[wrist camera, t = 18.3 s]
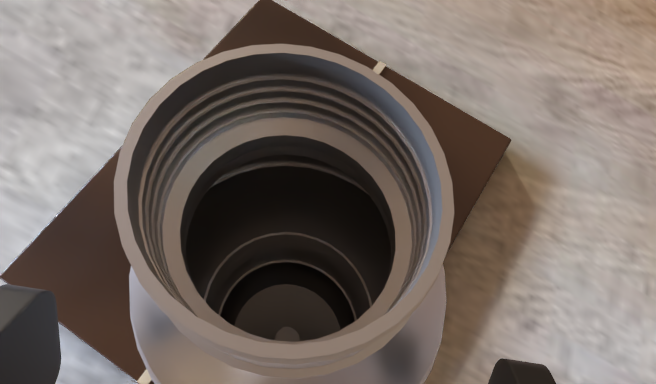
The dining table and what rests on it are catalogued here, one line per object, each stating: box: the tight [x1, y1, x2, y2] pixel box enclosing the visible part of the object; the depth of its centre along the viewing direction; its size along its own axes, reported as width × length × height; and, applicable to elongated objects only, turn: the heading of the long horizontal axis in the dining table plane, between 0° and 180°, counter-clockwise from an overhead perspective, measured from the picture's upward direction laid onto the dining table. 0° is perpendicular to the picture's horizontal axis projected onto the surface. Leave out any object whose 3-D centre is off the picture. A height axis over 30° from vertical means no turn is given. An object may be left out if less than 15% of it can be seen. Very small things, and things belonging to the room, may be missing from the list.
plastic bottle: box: [114, 44, 454, 384], centre depth 14 cm, size 6×7×20 cm
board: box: [0, 0, 511, 384], centre depth 27 cm, size 22×18×1 cm
